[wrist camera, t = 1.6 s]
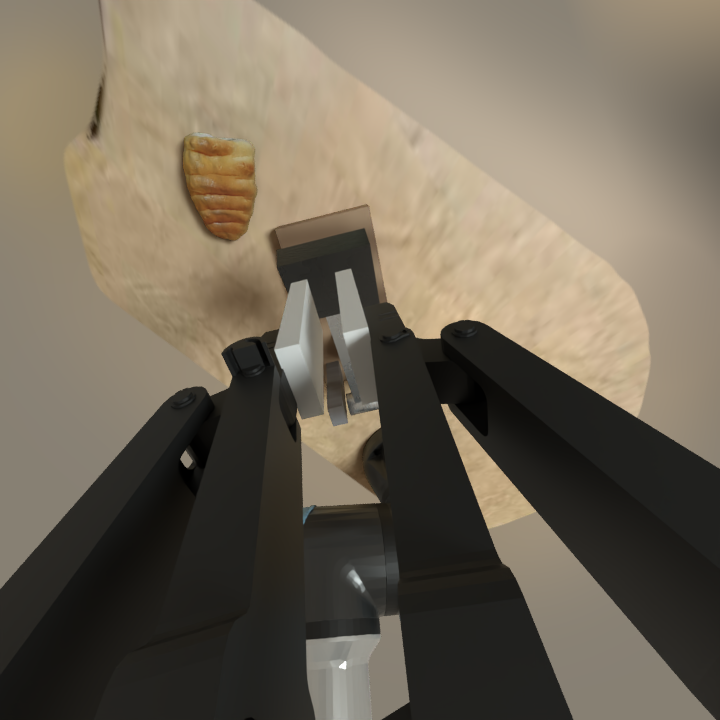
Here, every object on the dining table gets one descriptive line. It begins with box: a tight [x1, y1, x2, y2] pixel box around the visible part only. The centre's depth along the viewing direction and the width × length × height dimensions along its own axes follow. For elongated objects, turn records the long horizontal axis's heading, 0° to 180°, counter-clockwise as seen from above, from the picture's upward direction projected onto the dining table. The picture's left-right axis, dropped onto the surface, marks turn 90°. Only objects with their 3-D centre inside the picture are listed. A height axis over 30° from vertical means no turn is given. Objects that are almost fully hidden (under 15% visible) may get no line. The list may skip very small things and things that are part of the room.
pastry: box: [183, 133, 257, 240], centre depth 33 cm, size 9×7×4 cm
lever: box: [277, 228, 380, 416], centre depth 30 cm, size 21×6×3 cm, turn 10°
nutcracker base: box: [275, 204, 387, 426], centre depth 37 cm, size 20×10×12 cm, turn 12°
